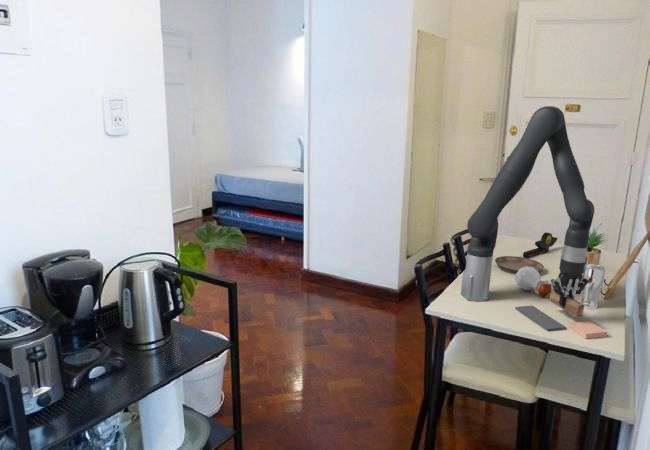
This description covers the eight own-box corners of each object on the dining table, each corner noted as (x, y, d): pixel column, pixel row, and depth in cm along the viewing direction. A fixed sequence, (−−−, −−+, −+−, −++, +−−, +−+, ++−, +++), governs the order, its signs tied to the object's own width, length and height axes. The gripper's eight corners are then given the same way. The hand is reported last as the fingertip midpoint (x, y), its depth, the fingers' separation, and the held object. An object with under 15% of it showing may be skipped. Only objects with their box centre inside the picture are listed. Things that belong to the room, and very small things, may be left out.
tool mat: (547, 331, 163) (547, 328, 163) (515, 308, 180) (515, 306, 180) (565, 329, 165) (566, 327, 165) (532, 307, 182) (532, 305, 182)
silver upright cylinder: (580, 300, 190) (586, 262, 186) (601, 305, 186) (607, 266, 182) (576, 305, 185) (582, 267, 181) (597, 310, 180) (603, 271, 177)
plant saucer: (532, 263, 233) (533, 256, 232) (551, 278, 213) (552, 271, 212) (488, 261, 233) (489, 255, 233) (502, 277, 213) (503, 269, 213)
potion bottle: (519, 287, 205) (544, 305, 192) (505, 276, 201) (531, 294, 188) (533, 269, 204) (560, 286, 191) (520, 258, 200) (547, 275, 187)
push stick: (576, 317, 165) (578, 305, 164) (549, 300, 178) (551, 289, 177) (582, 317, 166) (584, 305, 165) (554, 300, 179) (556, 288, 178)
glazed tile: (567, 329, 166) (585, 340, 159) (568, 323, 166) (586, 334, 158) (588, 326, 168) (606, 337, 161) (589, 321, 167) (607, 331, 160)
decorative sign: (551, 248, 256) (554, 229, 254) (555, 249, 254) (558, 230, 252) (522, 257, 240) (525, 237, 237) (526, 259, 238) (529, 238, 236)
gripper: (562, 262, 163) (555, 311, 167) (599, 260, 165) (590, 309, 170) (548, 255, 170) (541, 302, 174) (583, 253, 173) (575, 300, 177)
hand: (565, 305), depth 172 cm, fingers closed on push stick, 2 cm apart
